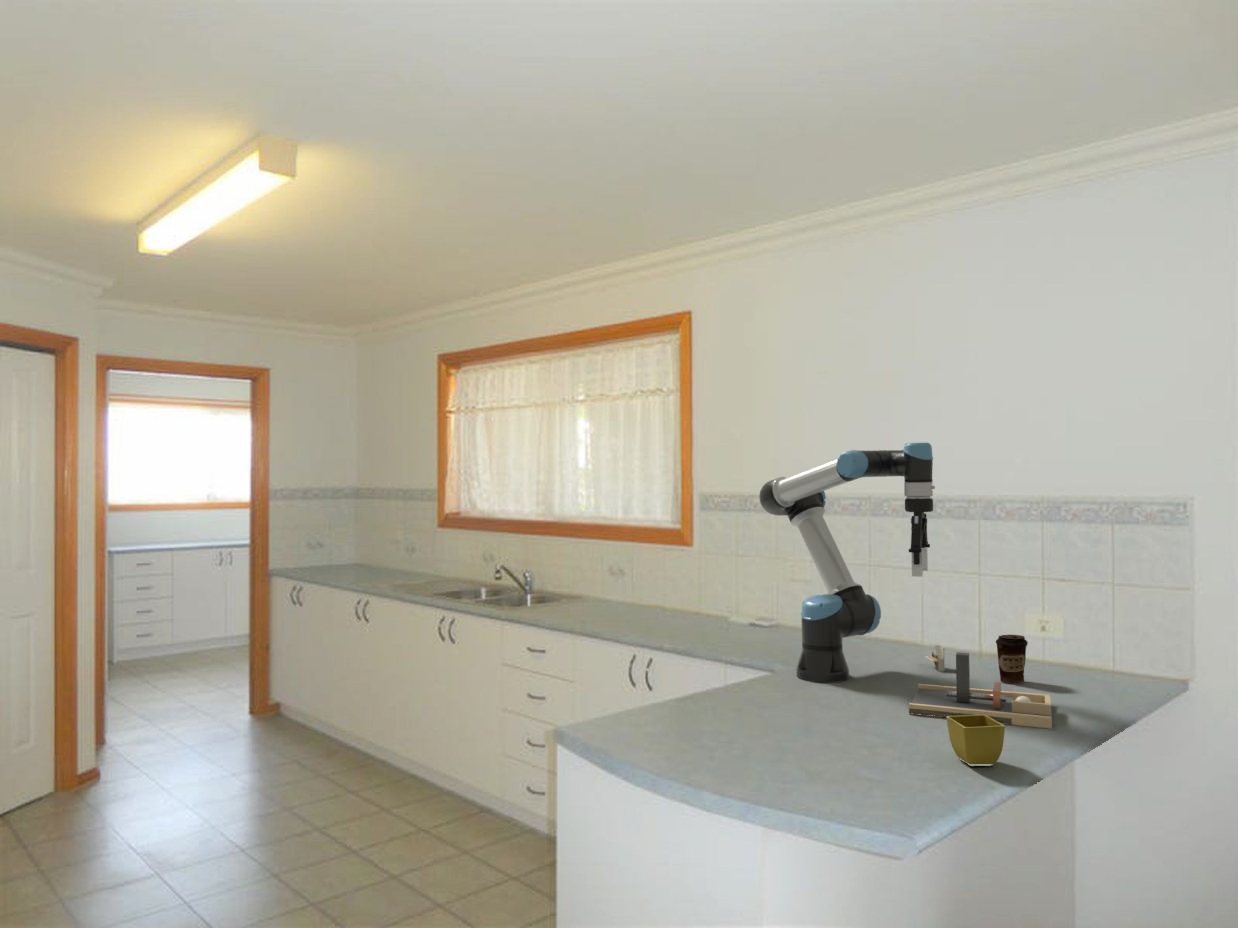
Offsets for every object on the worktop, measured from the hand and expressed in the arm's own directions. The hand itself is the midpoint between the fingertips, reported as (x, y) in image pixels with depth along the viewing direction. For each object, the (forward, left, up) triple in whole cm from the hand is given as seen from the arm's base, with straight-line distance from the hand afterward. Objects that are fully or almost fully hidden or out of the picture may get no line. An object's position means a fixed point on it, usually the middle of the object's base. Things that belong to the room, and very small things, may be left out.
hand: (919, 573), depth 246 cm
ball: (+26, -18, -29) cm, 43 cm away
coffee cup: (+23, +15, -32) cm, 42 cm away
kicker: (+15, -18, -30) cm, 38 cm away
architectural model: (+2, +24, -32) cm, 40 cm away
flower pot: (+17, -61, -32) cm, 71 cm away
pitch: (+16, -18, -32) cm, 40 cm away
